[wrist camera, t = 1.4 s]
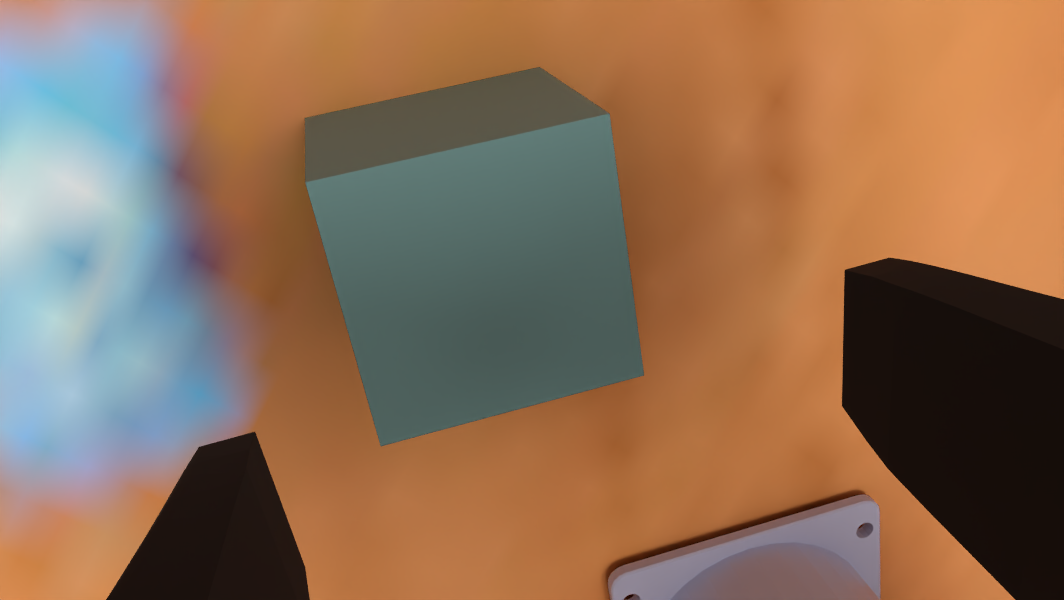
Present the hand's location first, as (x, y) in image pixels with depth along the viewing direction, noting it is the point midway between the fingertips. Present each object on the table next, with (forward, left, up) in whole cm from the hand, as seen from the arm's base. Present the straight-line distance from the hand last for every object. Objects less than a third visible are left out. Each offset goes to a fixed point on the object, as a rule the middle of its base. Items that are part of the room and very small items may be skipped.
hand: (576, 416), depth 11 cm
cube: (0, 0, -10) cm, 10 cm away
